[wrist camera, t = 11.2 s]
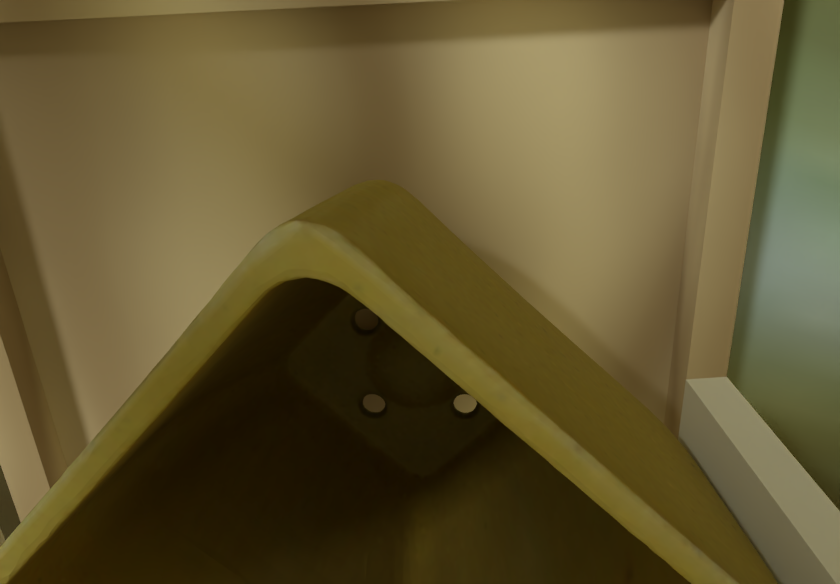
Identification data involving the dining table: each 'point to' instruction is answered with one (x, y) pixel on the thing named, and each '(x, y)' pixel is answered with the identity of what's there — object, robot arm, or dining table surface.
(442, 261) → the flower pot
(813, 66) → the dining table surface
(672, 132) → the holder tray
